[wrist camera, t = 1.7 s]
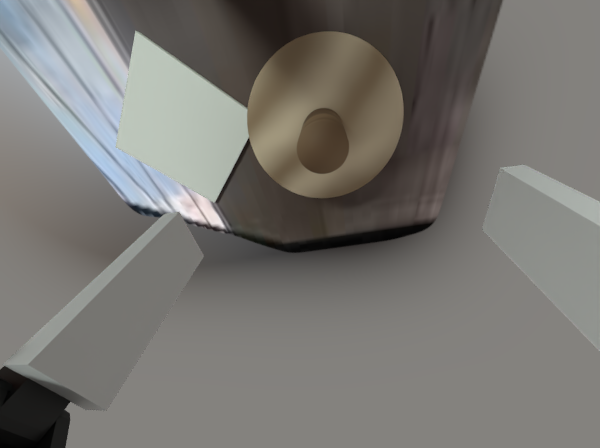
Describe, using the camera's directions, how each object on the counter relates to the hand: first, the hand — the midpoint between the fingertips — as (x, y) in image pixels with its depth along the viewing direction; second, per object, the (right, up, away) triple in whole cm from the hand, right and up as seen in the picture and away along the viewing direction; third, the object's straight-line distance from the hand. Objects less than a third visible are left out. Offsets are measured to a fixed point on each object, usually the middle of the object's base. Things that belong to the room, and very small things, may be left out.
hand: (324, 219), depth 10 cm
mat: (-16, +12, +21) cm, 29 cm away
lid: (+1, +10, +13) cm, 16 cm away
